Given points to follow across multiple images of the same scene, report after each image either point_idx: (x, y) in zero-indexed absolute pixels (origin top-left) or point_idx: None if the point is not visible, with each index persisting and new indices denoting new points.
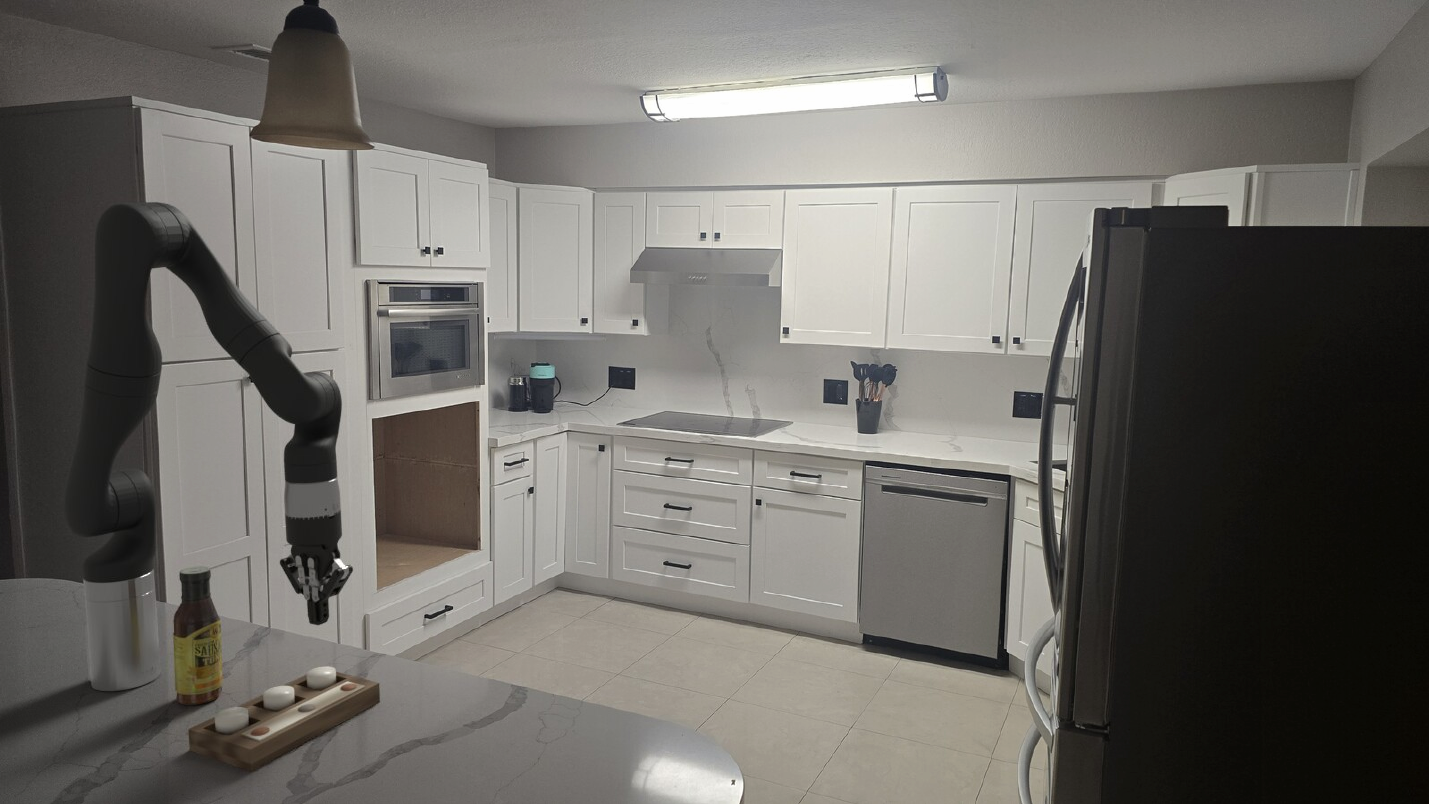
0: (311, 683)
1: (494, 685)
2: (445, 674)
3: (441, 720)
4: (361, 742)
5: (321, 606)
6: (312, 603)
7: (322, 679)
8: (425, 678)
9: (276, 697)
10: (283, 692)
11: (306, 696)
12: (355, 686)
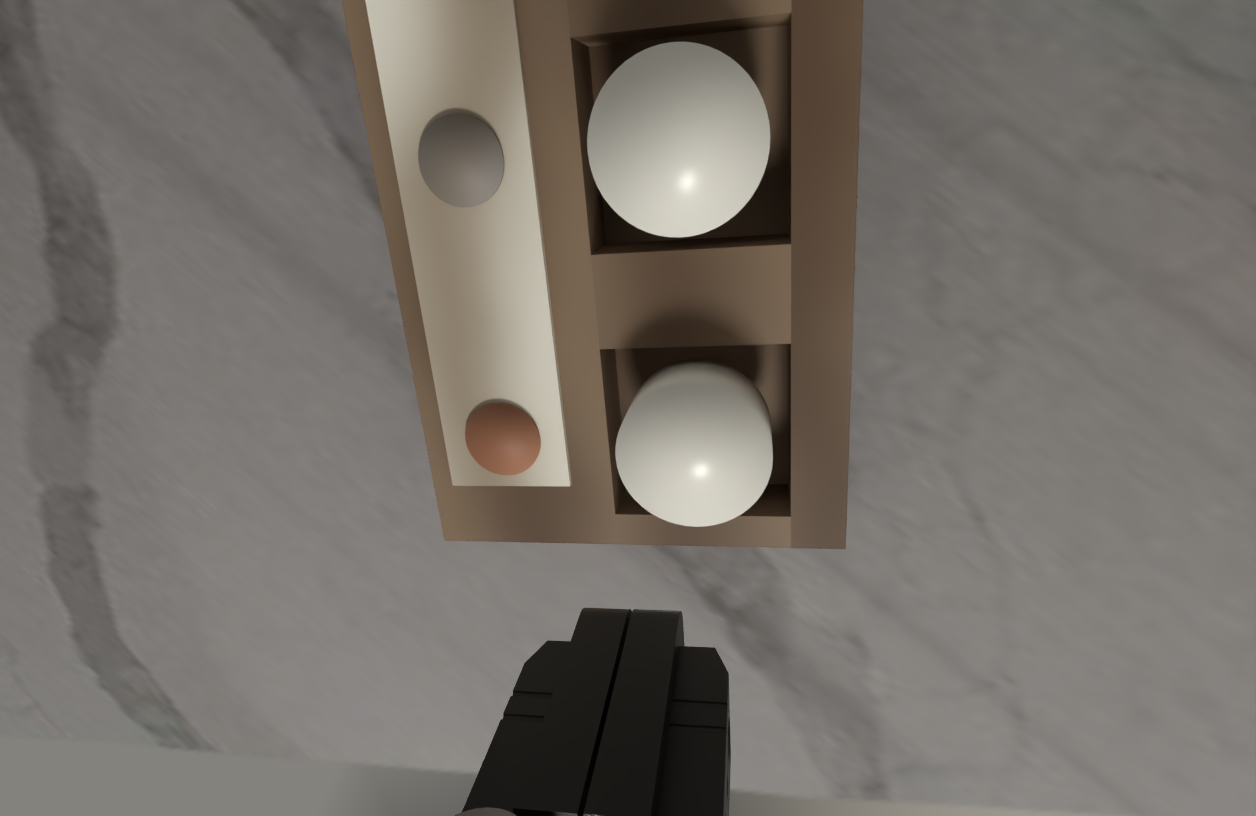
0: (686, 371)
1: (270, 742)
2: (475, 753)
3: (174, 483)
4: (229, 206)
5: (476, 779)
6: (565, 785)
7: (630, 408)
8: None
9: (616, 79)
10: (643, 154)
11: (607, 270)
12: (478, 457)
